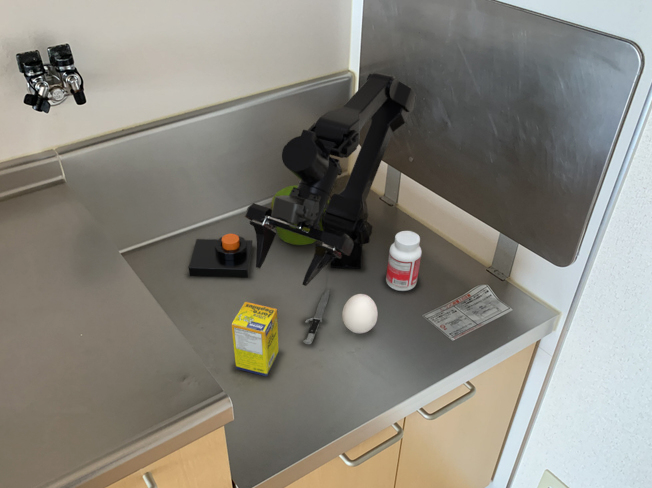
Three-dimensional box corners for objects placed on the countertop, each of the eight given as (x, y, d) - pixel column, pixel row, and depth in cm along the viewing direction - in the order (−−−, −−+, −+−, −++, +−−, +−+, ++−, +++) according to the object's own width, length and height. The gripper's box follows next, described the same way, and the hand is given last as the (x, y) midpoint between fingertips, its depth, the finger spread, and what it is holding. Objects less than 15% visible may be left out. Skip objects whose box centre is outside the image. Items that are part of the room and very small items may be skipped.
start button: (240, 240, 128) (240, 233, 127) (238, 251, 125) (238, 244, 124) (223, 240, 128) (222, 233, 127) (221, 250, 126) (220, 243, 124)
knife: (297, 343, 110) (313, 345, 110) (297, 340, 110) (313, 342, 109) (317, 289, 122) (332, 291, 121) (317, 287, 121) (332, 288, 120)
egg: (340, 317, 116) (342, 285, 110) (374, 317, 115) (378, 285, 110) (341, 341, 111) (344, 308, 106) (377, 341, 111) (381, 309, 105)
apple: (335, 247, 132) (338, 203, 125) (281, 257, 130) (280, 212, 122) (316, 216, 141) (318, 173, 134) (265, 225, 139) (264, 181, 131)
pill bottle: (407, 270, 126) (414, 225, 119) (422, 288, 122) (430, 243, 115) (380, 276, 125) (385, 232, 117) (394, 295, 120) (400, 250, 113)
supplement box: (279, 353, 109) (278, 308, 101) (267, 377, 104) (265, 331, 97) (248, 345, 110) (244, 300, 103) (235, 369, 106) (230, 323, 99)
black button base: (252, 248, 132) (251, 233, 129) (248, 277, 125) (247, 262, 122) (197, 247, 133) (195, 232, 130) (189, 276, 125) (187, 260, 122)
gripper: (247, 160, 99) (213, 249, 100) (350, 191, 92) (313, 287, 92) (274, 181, 110) (242, 262, 110) (368, 210, 102) (334, 297, 103)
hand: (280, 276), depth 103 cm, fingers open, 9 cm apart
